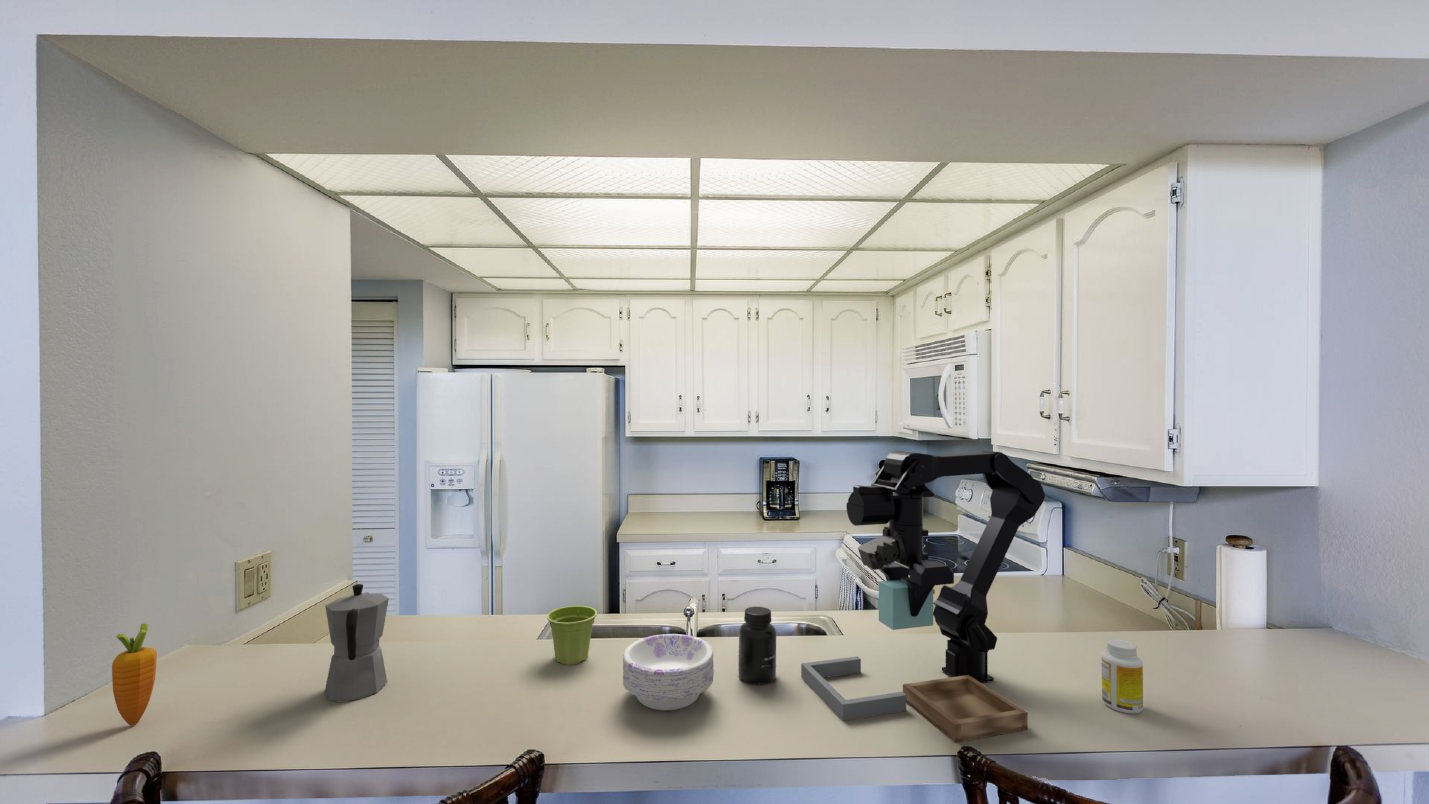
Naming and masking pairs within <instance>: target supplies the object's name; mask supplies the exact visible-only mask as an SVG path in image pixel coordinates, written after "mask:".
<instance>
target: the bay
mask: <svg viewBox="0 0 1429 804" xmlns="http://www.w3.org/2000/svg"><path fill="white" fill-rule="evenodd" d="M800 665H801V666H800V669H801V670H800V674H801V675H800V677H802V678H803V679H804V680H805V681H806V682H807V683H806V682H805V681H804V680H803V679H802V678H801V679H802V680H803V681H804V682H805V683H806V684H807V685H808V684H809V685H808V686H809V687H810V688H811V689H812V690H813V691H814V693H816V694H817V696H819V698H820V699H821V700H822V701H823V702H824V703H825V704H826V705H827V706H828V707H829V708H830V710H832V711H833V712H834V713H835V715H836V716H838V718H839V719H840V720H841V721H842V722H843V721H851V720H857V719H861V718H863V719H864V718H869V717H875V716H882V715H887V714H893V713H899V712H906V711H907V703H906V694H904V693H903V691H898V692H891V693H890V692H888V693H883V694H877V695H876V694H875V695H871V696H864V697H857V698H855V697H854V698H851V699H850V698H849V699H846V698H844V697H843V696H842V695H841V694H840V693H839V691H837V690H836V689H835V688H834V687H833V686H832V685H831V684H830V683H829V681H827V680H826V679H825V678H829V677H828V676H832V677H838V676H845V675H846V676H847V675H853V674H852V673H854V674H860V673H862V659H861V658H860V657H859V656H856V655H855V656H850V657H840V658H835V659H825V660H819V661H809V662H803V663H802V662H801V664H800ZM823 677H825V678H823Z"/></svg>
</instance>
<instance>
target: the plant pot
mask: <svg viewBox="0 0 1429 804" xmlns="http://www.w3.org/2000/svg"><path fill="white" fill-rule="evenodd" d="M597 615H598V611H597V610H596V608H593V607H591V606H586V605H569V606H565V607H563V606H562V607H558V608H555V609H553V610H551V611H550V612H549V613H547V615H546V619H547V621H548V622H549V627H550V628H551V634H552V640H553V641H552V643H553V649H554V650H553V652H554V657H555V661H556V662H557V663H561V664H562V665H566V666H568V665H577V664H580V663H581V662H582V661H586V660H587V659H588V657H589V651H590V643H591V636H592V630H593V626H594V623H595V619H596V617H597Z"/></svg>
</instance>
